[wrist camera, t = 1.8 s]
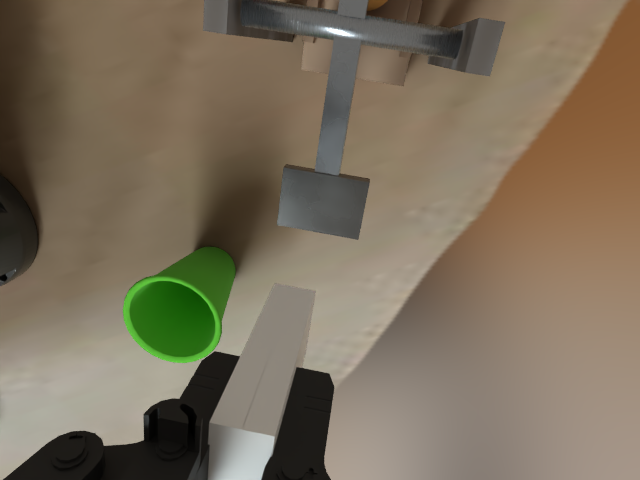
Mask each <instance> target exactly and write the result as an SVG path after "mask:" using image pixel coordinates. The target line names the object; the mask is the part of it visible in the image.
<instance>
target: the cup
mask: <svg viewBox="0 0 640 480" xmlns="http://www.w3.org/2000/svg"><path fill="white" fill-rule="evenodd" d="M234 278H235V265H234V262H233V260H232V258H231V257H230V256H229V255H228V254H227V253H226V252H225V251H224V250H222V249H219V248H216V247H203V248H200V249H198V250H196V251H194V252H193V253H191V254H189V255H188V256H186V257H185V258H183V259H181V260H180V261H178V262H176V263H175V264H173V265H171V266H170V267H168V268H166V269H165V270H163V271H162V272H160V273H158V274H157V275H154V276H150V277H146V278H144V279H142V280H140V281H138V282H136V283H135V284H134V285H133V286H132V287H131V288H130V289H129V291H128V293H127V295H126V297H125V300H124V306H123V315H124V321H125V324H126V327H127V329H128V331H129V333H130V334H131V336H132V337H133V339H134V340H135V341H136V342H137V343H138V344H139V345H140V346H141V347H142V348H143V349H144V350H146V351H147V352H149V353H150V354H152V355H154V356H156V357H158V358H160V359H162V360H166V361H170V362H177V363H187V362H193V361H196V360H199V359H201V358H203V357H206V356H207V355H208V354H209V353H211V352H212V351H213V350H214V349H215V347H216V346H217V344H218V343H219V340H220V337H221V334H222V318H223V314H224V311H225V308H226V304H227V301H228V298H229V294H230V291H231V288H232V284H233V281H234Z"/></svg>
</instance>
